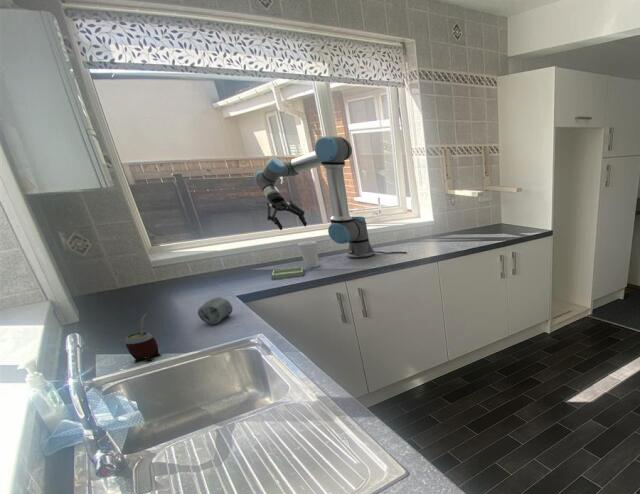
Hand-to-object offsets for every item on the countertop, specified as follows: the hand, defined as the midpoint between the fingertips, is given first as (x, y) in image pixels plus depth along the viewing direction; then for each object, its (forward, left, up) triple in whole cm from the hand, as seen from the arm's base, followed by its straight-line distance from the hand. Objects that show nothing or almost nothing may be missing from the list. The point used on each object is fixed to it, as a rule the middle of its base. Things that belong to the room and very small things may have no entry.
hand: (293, 226), depth 232 cm
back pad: (+7, +23, -21) cm, 32 cm away
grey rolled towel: (+30, +84, -21) cm, 92 cm away
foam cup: (-5, +10, -21) cm, 24 cm away
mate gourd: (+45, +113, -21) cm, 123 cm away
